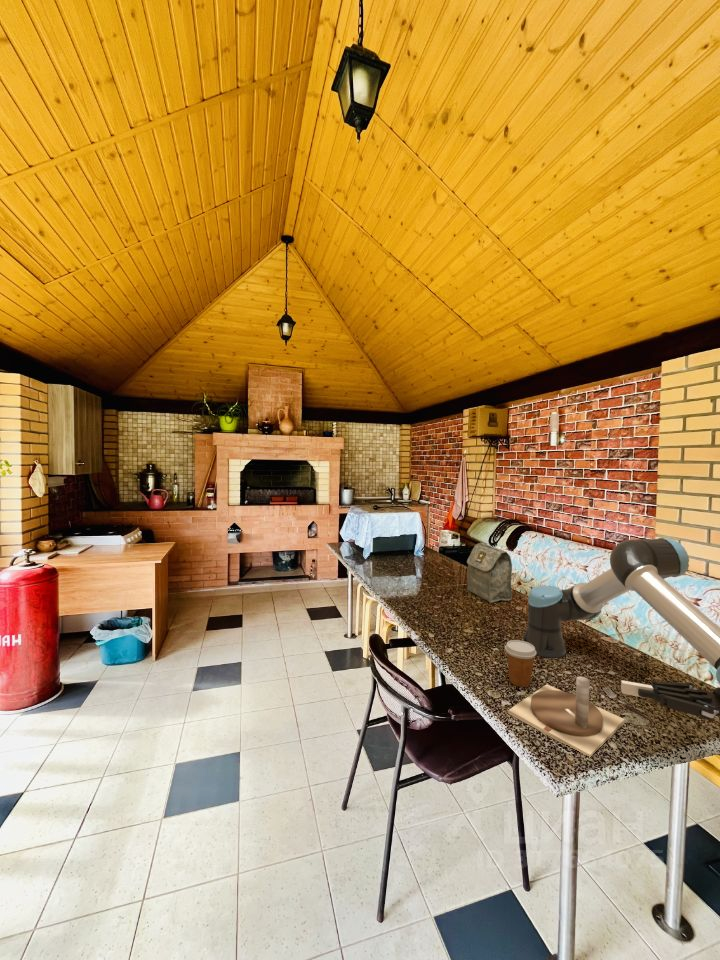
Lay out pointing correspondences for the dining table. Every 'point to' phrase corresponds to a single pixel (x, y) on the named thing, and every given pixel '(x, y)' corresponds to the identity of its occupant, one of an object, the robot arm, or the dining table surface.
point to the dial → (568, 710)
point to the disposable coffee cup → (520, 662)
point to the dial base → (577, 742)
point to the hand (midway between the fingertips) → (621, 686)
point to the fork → (627, 705)
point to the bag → (489, 573)
